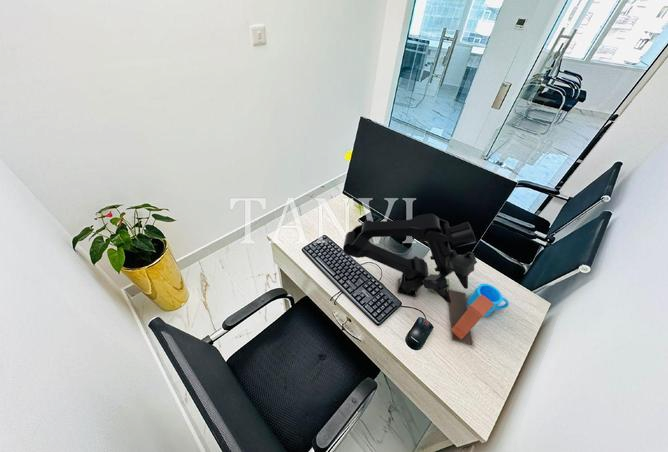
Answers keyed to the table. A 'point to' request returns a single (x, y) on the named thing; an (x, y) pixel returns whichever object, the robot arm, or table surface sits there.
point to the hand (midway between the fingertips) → (458, 295)
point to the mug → (489, 297)
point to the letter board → (458, 313)
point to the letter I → (472, 316)
